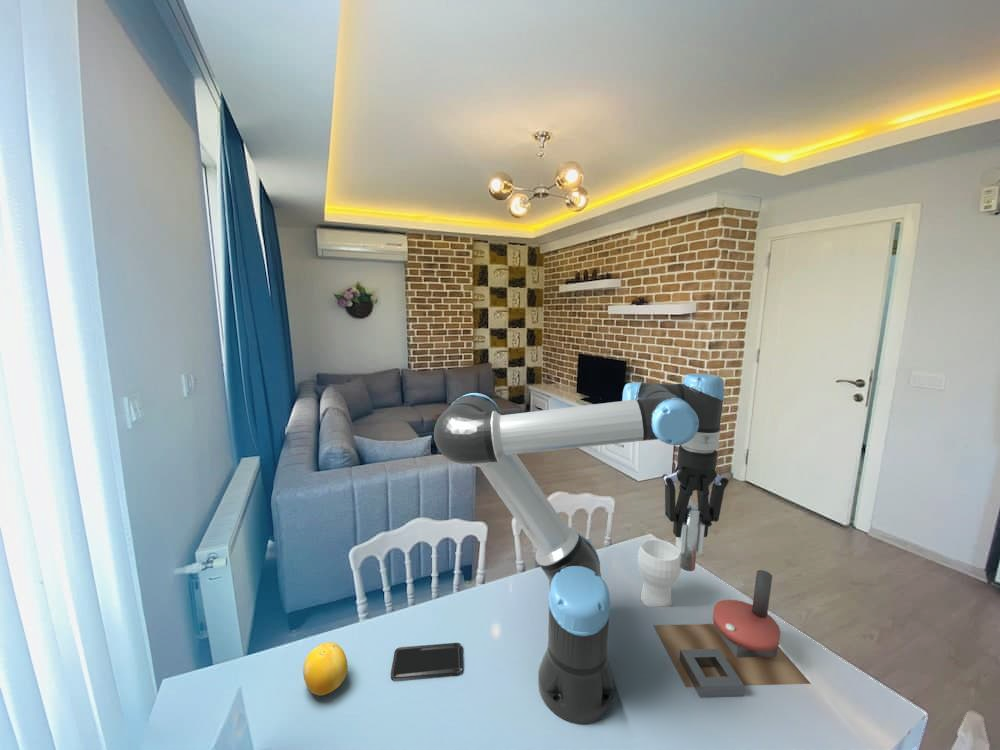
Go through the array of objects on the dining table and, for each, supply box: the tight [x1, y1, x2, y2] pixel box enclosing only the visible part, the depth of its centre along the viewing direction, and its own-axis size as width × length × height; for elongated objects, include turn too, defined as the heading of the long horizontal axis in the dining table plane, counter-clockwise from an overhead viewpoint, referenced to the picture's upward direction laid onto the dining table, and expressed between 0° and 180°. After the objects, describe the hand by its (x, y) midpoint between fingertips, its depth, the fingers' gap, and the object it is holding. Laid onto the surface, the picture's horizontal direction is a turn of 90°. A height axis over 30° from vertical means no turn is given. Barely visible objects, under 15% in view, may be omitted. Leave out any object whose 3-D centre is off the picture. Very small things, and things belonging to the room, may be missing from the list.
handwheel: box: [712, 569, 781, 652], centre depth 91 cm, size 13×13×12 cm
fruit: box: [302, 641, 349, 696], centre depth 82 cm, size 9×8×8 cm
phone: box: [390, 642, 463, 682], centre depth 88 cm, size 8×1×15 cm
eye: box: [679, 649, 745, 698], centre depth 83 cm, size 9×9×2 cm
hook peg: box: [679, 498, 701, 572], centre depth 89 cm, size 3×5×15 cm, turn 0°
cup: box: [637, 538, 682, 608], centre depth 106 cm, size 11×11×15 cm
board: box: [653, 623, 811, 688], centre depth 90 cm, size 26×16×4 cm, turn 92°
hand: (688, 549), depth 89 cm, fingers closed on hook peg, 3 cm apart
